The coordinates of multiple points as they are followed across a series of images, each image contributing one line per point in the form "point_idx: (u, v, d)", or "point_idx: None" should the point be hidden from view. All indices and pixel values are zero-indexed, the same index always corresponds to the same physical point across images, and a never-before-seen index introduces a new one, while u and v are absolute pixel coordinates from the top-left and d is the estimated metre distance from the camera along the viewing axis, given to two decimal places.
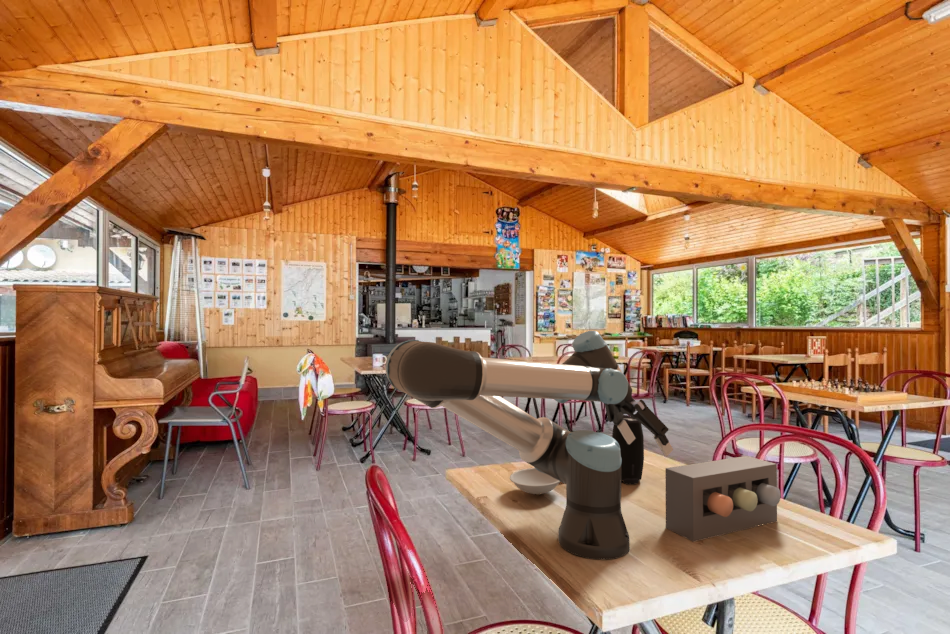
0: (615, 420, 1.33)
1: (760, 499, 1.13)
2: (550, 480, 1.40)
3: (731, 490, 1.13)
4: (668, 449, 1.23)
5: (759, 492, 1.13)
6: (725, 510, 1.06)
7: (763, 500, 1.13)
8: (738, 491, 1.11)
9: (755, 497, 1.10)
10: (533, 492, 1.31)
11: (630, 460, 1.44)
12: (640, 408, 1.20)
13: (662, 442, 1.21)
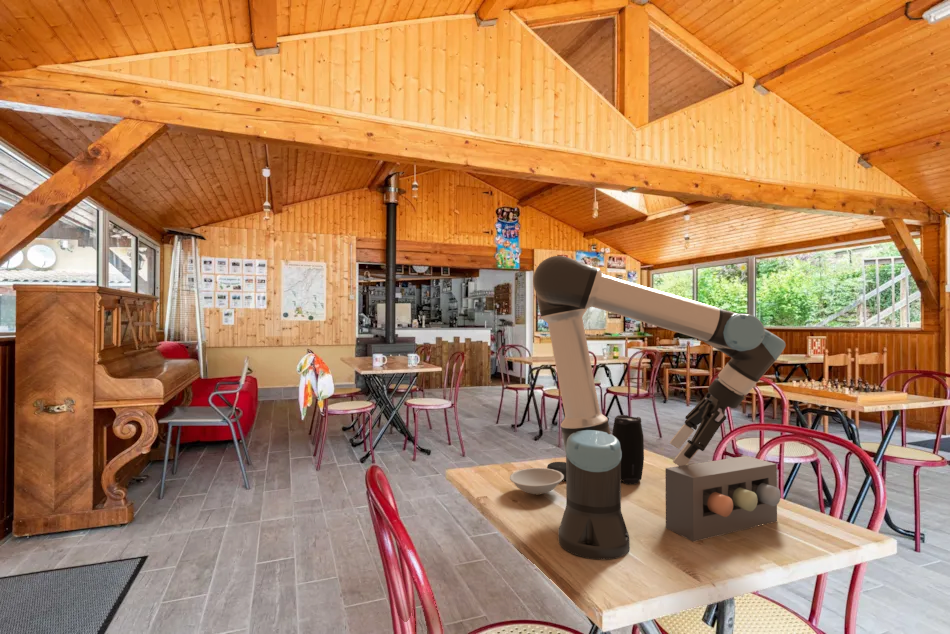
0: (690, 417, 1.25)
1: (760, 499, 1.13)
2: (550, 480, 1.40)
3: (731, 490, 1.13)
4: (681, 462, 1.17)
5: (759, 492, 1.13)
6: (725, 510, 1.06)
7: (763, 500, 1.13)
8: (738, 491, 1.11)
9: (755, 497, 1.10)
10: (533, 492, 1.31)
11: (630, 460, 1.44)
12: (715, 417, 1.12)
13: (686, 451, 1.16)
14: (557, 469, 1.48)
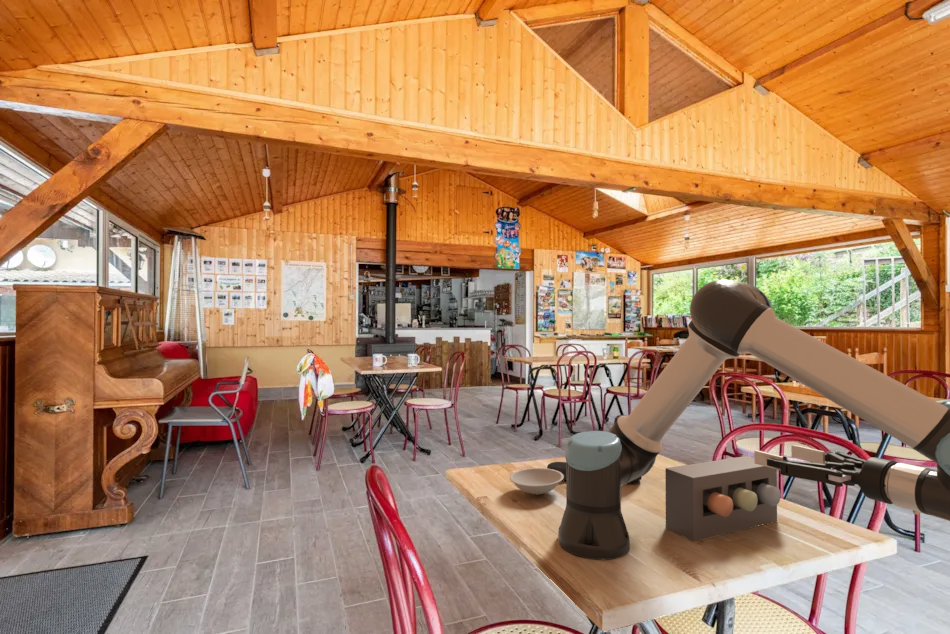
0: (834, 455, 0.99)
1: (760, 499, 1.13)
2: (550, 480, 1.40)
3: (731, 490, 1.13)
4: (759, 458, 1.01)
5: (759, 492, 1.13)
6: (725, 510, 1.06)
7: (763, 500, 1.13)
8: (738, 491, 1.11)
9: (755, 497, 1.10)
10: (533, 492, 1.31)
11: None
12: (832, 474, 0.87)
13: (772, 459, 0.98)
14: (557, 469, 1.48)
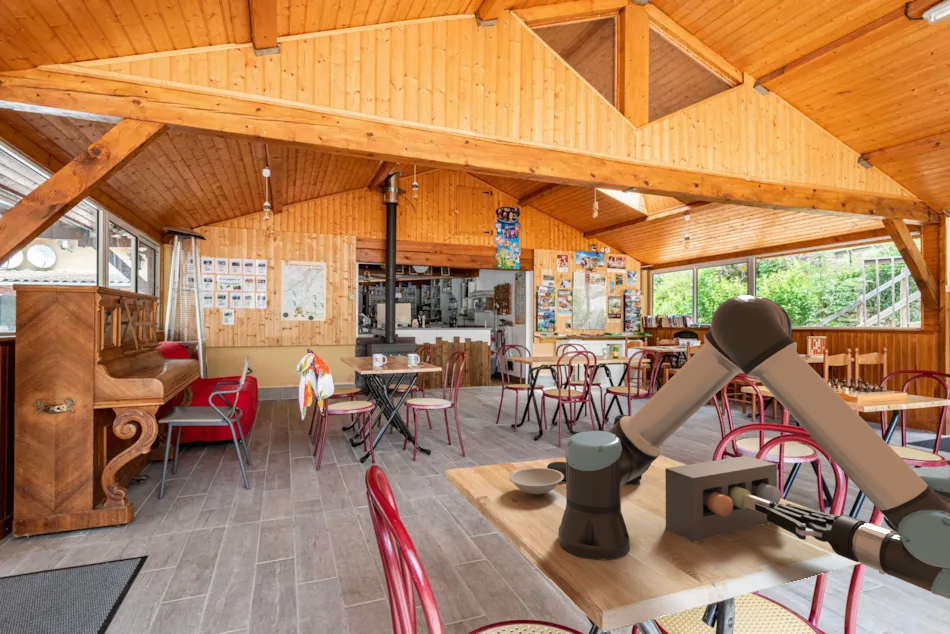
0: (789, 507, 1.03)
1: None
2: (550, 480, 1.40)
3: None
4: (748, 502, 1.09)
5: (759, 492, 1.13)
6: (725, 510, 1.06)
7: None
8: (732, 489, 1.12)
9: None
10: (533, 492, 1.31)
11: None
12: (796, 526, 0.94)
13: (760, 504, 1.06)
14: (557, 469, 1.48)
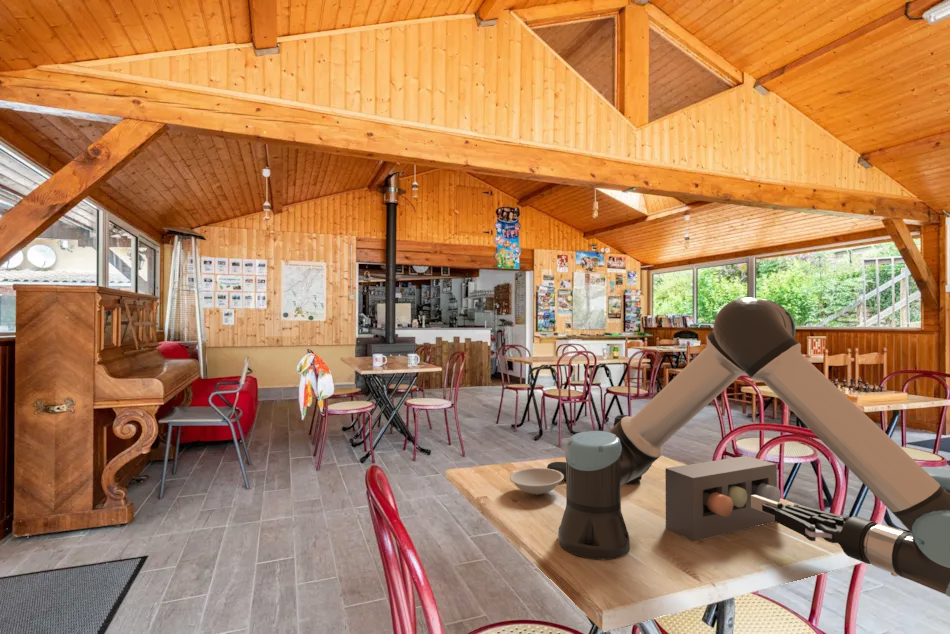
0: (797, 508, 1.01)
1: None
2: (550, 480, 1.40)
3: None
4: (755, 503, 1.07)
5: (759, 492, 1.13)
6: (725, 510, 1.06)
7: None
8: (728, 488, 1.13)
9: (745, 493, 1.12)
10: (533, 492, 1.31)
11: None
12: (806, 527, 0.92)
13: (767, 505, 1.04)
14: (557, 469, 1.48)
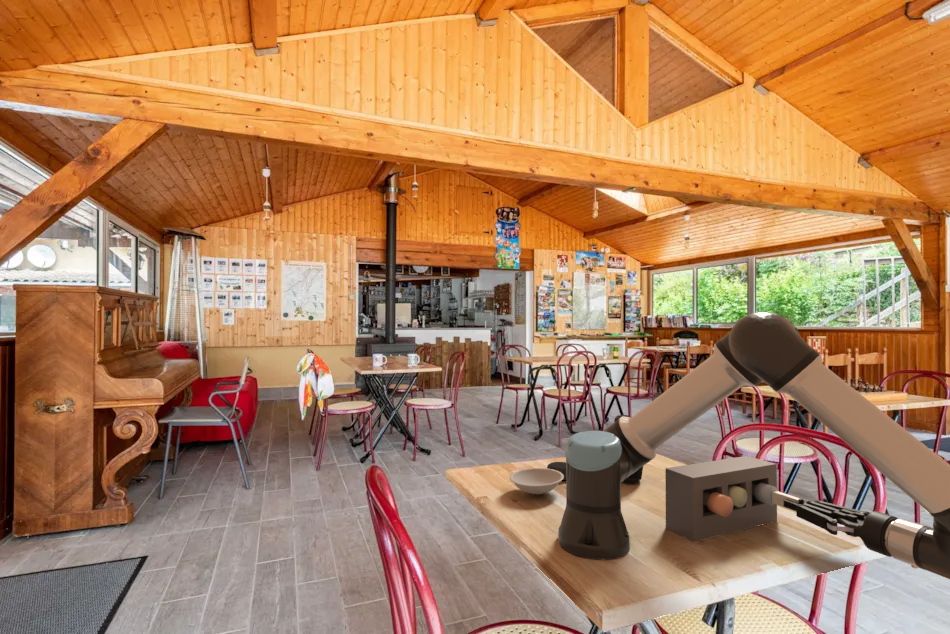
0: (818, 504, 1.05)
1: (758, 498, 1.14)
2: (550, 480, 1.40)
3: None
4: (776, 499, 1.11)
5: (757, 491, 1.14)
6: (725, 510, 1.06)
7: (761, 499, 1.13)
8: (728, 488, 1.13)
9: (745, 493, 1.12)
10: (533, 492, 1.31)
11: None
12: (828, 522, 0.96)
13: (789, 500, 1.08)
14: (557, 469, 1.48)
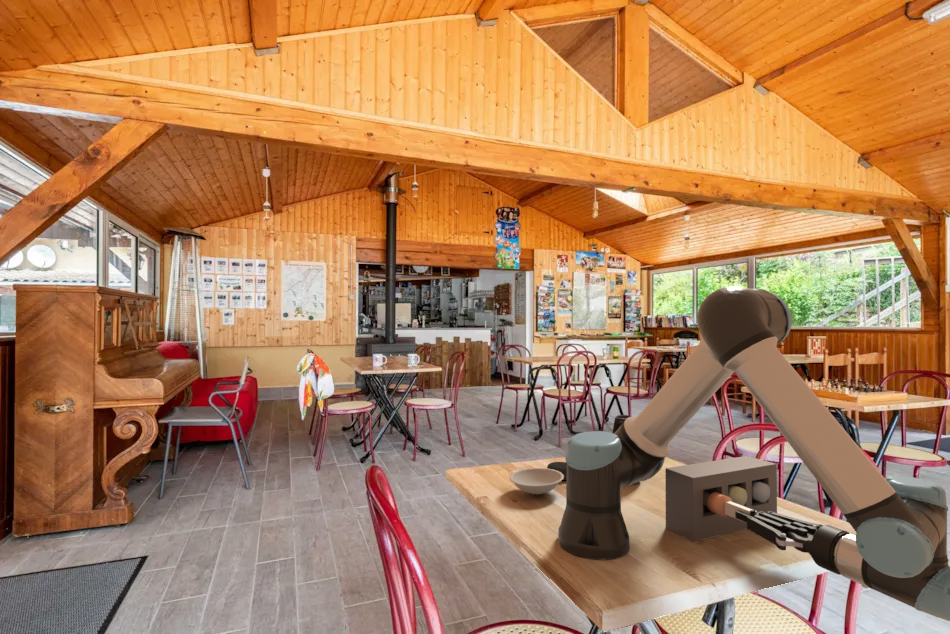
0: (770, 516, 0.98)
1: None
2: (550, 480, 1.40)
3: None
4: (729, 510, 1.04)
5: None
6: None
7: (753, 496, 1.15)
8: (728, 488, 1.13)
9: (745, 493, 1.12)
10: (533, 492, 1.31)
11: None
12: (776, 536, 0.90)
13: (740, 512, 1.01)
14: (557, 469, 1.48)
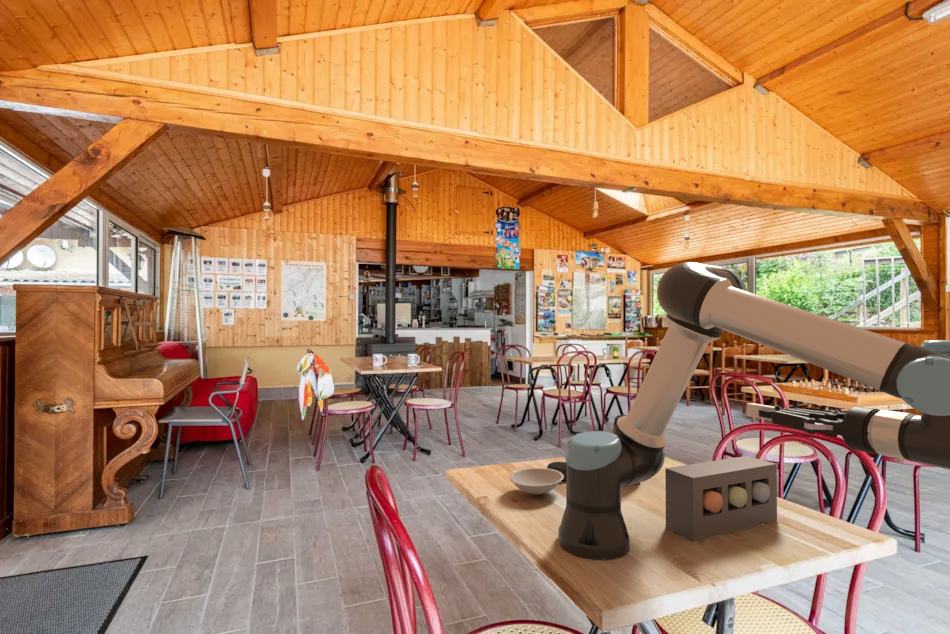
0: (796, 410, 0.94)
1: None
2: (550, 480, 1.40)
3: None
4: (751, 411, 1.01)
5: None
6: (715, 506, 1.08)
7: (753, 496, 1.15)
8: (728, 488, 1.13)
9: (745, 493, 1.12)
10: (533, 492, 1.31)
11: None
12: (805, 421, 0.86)
13: (764, 410, 0.98)
14: (557, 469, 1.48)
